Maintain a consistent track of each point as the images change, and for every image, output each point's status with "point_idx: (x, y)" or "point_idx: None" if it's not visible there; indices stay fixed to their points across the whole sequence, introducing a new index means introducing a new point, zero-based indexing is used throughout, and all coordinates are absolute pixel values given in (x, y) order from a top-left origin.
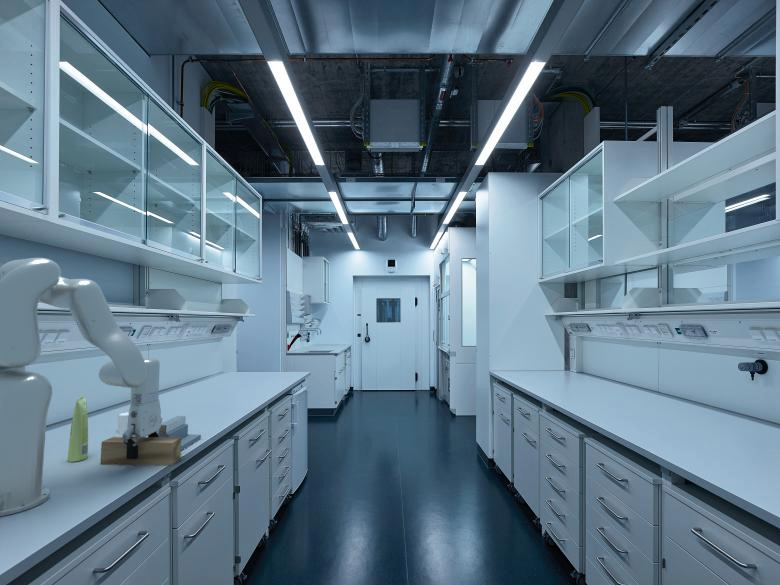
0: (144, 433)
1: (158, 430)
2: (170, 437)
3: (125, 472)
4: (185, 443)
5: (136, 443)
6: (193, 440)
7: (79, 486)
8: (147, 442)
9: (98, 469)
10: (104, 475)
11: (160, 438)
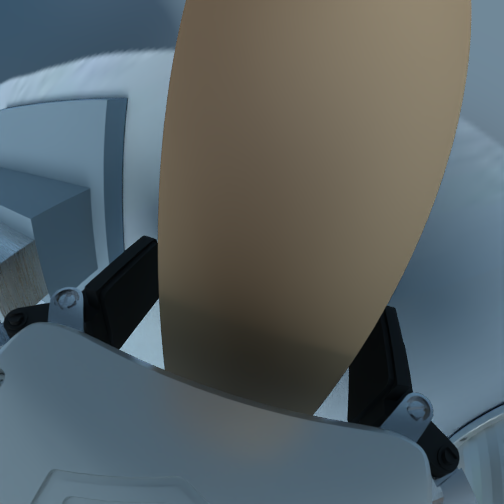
0: (398, 473)
1: (54, 312)
2: (42, 201)
3: (434, 300)
4: (57, 106)
5: (407, 409)
6: (24, 106)
7: (481, 382)
8: (364, 341)
9: (338, 394)
10: (424, 362)
11: (204, 230)
